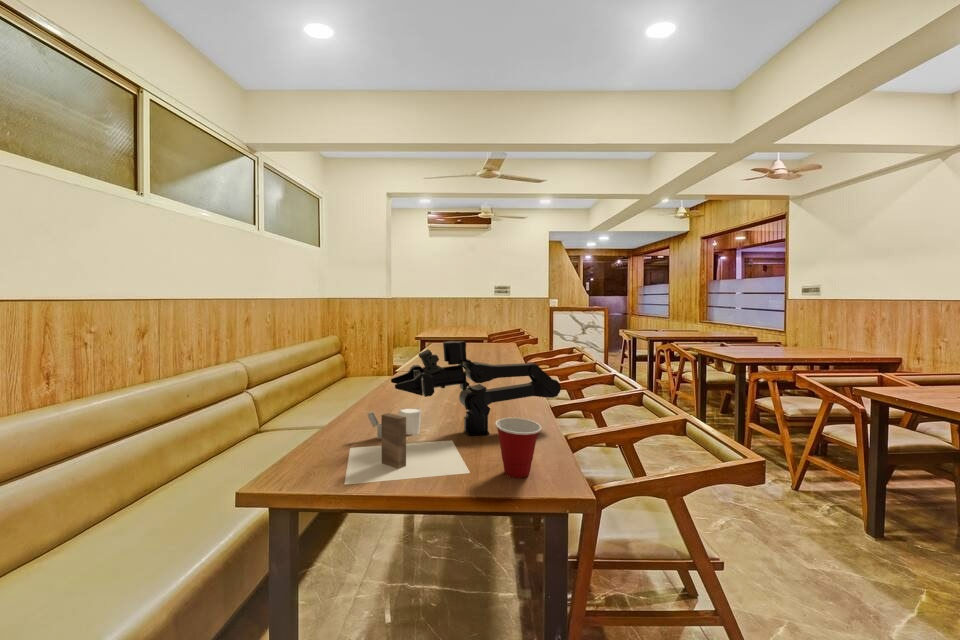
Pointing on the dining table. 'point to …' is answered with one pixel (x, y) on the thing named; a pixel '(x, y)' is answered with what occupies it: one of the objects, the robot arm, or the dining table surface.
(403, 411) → the white cylinder
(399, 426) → the wood grain block
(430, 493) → the dining table surface
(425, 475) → the mat
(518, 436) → the plastic cup
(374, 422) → the lighter
